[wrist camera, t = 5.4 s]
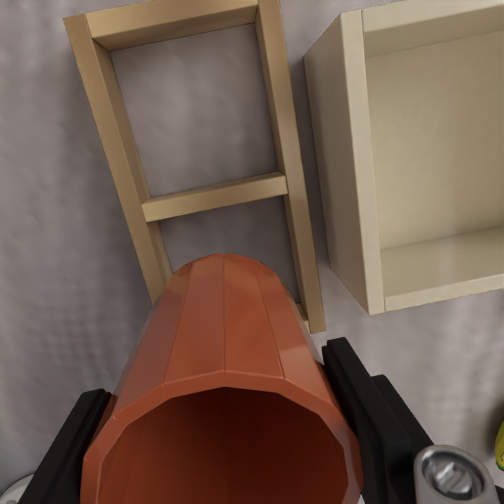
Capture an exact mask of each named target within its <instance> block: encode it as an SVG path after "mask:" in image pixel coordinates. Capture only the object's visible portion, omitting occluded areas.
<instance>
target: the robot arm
mask: <svg viewBox="0 0 504 504" xmlns="http://www.w3.org/2000/svg"><path fill="white" fill-rule="evenodd" d="M322 355H323V361H324V366H325V368H326V370H327V372H328V375H329V377H330V379H331V381H332V383H333V385H334V387H335V390H336V392H337V394H338V396H339V398H340V400H341V403H342V405H343V407H344V409H345V411H346V413H347V415H348V418H349V420H350V422H351V424H352V426H353V428H354V431H355V433H356V435H357V437H358V440H359V441H358V442H359V447H360V455H361V463H362V471H363V479H364V487H363V490H362V492H361V494H362V497H363V499H364V502H365V504H504V489H503V488H501V487H498V486H496V485H494V482H493V479H492V477H491V475H490V473H489V471H488V469H487V468H486V467H485V466H484V465H483V464H482V463H481V461H480V460H478V459H477V458H476V457H474V456H473V455H471V454H470V453H468V452H466V451H464V450H462V449H460V448H457V447H453V446H449V445H434V443H433V442H432V440H431V439H430V438H429V436H428V435H427V433H426V432H425V431H424V429H423V428H422V426H421V425H420V424H419V422H418V421H417V419H416V418H415V417H414V415H413V414H412V412H411V411H410V409H409V408H408V407H407V405H406V404H405V402H404V401H403V400H402V398H401V397H400V395H399V394H398V393H397V391H396V390H395V388H394V387H393V386H392V384H391V383H390V381H389V380H388V379H387V377H386V376H385V375H383V374H382V375H377V376H372V377H370V375H369V373H368V372H367V370H366V369H365V367H364V366H363V364H362V362H361V361H360V359H359V358H358V356H357V355H356V353H355V352H354V350H353V348H352V347H351V345H350V344H349V342H348V341H347V339H346V338H345V337H341V338H337V339H332V340H327V346H322ZM111 396H112V394H111V393H110V392H106V391H105V390H104V389H97V390H92V391H88V392H84V393H82V394H81V395H80V397H79V399H78V401H77V402H76V404H75V406H74V407H73V409H72V411H71V412H70V414H69V416H68V418H67V419H66V421H65V423H64V424H63V426H62V428H61V430H60V431H59V433H58V435H57V436H56V438H55V440H54V441H53V443H52V445H51V447H50V448H49V450H48V452H47V453H46V455H45V457H44V458H43V460H42V462H41V464H40V465H39V467H38V469H37V470H36V472H35V474H32V475H30V476H28V477H26V478H24V479H22V480H19V481H18V482H16V483H15V484H14V485H12V486H11V487H10V488H8V489H7V490H6V491H5V493H4V494H3V495H2V496H1V497H0V504H80V502H79V500H80V488H81V477H82V466H83V458H84V455H85V453H86V451H87V449H88V446H89V444H90V442H91V440H92V438H93V435H94V433H95V431H96V429H97V427H98V425H99V422H100V420H101V418H102V416H103V414H104V411H105V409H106V407H107V405H108V403H109V400H110V398H111Z"/></svg>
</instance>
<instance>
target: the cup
mask: <svg viewBox="0 0 504 504" xmlns="http://www.w3.org/2000/svg"><path fill="white" fill-rule="evenodd" d="M358 441H359V440H358V437H357V435H356V433H355V431H354V428H353V426H352V424H351V422H350V420H349V418H348V415H347V413H346V411H345V409H344V407H343V405H342V403H341V400H340V398H339V396H338V394H337V392H336V390H335V387H334V385H333V383H332V381H331V379H330V377H329V375H328V372H327V370H326V368H325V366H324V364H323V362H322V359H321V357H320V355H319V353H318V351H317V349H316V347H315V345H314V342H313V340H312V338H311V336H310V334H309V332H308V330H307V327H306V325H305V323H304V321H303V319H302V317H301V315H300V312H299V310H298V308H297V306H296V304H295V302H294V300H293V298H292V296H291V295H290V293H289V292H288V290H287V288H286V286H285V285H284V283H283V281H282V280H281V279H280V278H279V276H278V275H277V274H276V273H274V272H273V271H272V270H271V269H270V268H268V267H267V266H266V265H264V264H262V263H261V262H259V261H257V260H255V259H252V258H249V257H246V256H242V255H237V254H214V255H208V256H205V257H201V258H198V259H196V260H193V261H191V262H189V263H188V264H186V265H184V266H183V267H181V268H180V269H179V270H177V271H176V272H175V273H174V274H173V275H172V276H171V277H170V278H169V279H168V281H167V282H166V283H165V285H164V286H163V288H162V290H161V292H160V294H159V296H158V297H157V299H156V300H155V302H154V304H153V306H152V308H151V311H150V313H149V315H148V317H147V319H146V322H145V324H144V326H143V328H142V330H141V333H140V335H139V337H138V339H137V341H136V343H135V346H134V348H133V350H132V352H131V354H130V357H129V359H128V361H127V363H126V365H125V368H124V370H123V372H122V374H121V376H120V379H119V381H118V383H117V385H116V387H115V389H114V392H113V394H112V396H111V398H110V400H109V403H108V405H107V407H106V409H105V411H104V414H103V416H102V418H101V420H100V422H99V425H98V427H97V429H96V431H95V433H94V435H93V438H92V440H91V442H90V444H89V446H88V449H87V451H86V453H85V455H84V458H83V466H82V477H81V488H80V500H79V502H80V504H357V503H358V500H359V498H360V495H361V492H362V490H363V487H364V479H363V471H362V463H361V455H360V447H359V442H358Z"/></svg>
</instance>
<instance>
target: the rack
mask: <svg viewBox="0 0 504 504" xmlns="http://www.w3.org/2000/svg"><path fill="white" fill-rule="evenodd" d="M63 21H64V24H65V28H66V31H67V34H68V37H69V40H70V44H71V47H72V50H73V53H74V56H75V59H76V63H77V66H78V69H79V72H80V75H81V79H82V82H83V85H84V88H85V91H86V94H87V98H88V101H89V104H90V107H91V110H92V114H93V117H94V120H95V123H96V126H97V129H98V133H99V136H100V139H101V142H102V145H103V149H104V152H105V155H106V158H107V161H108V164H109V168H110V171H111V174H112V177H113V180H114V184H115V187H116V190H117V193H118V196H119V200H120V203H121V206H122V209H123V212H124V215H125V219H126V222H127V225H128V228H129V231H130V235H131V238H132V241H133V244H134V247H135V250H136V254H137V257H138V260H139V263H140V266H141V270H142V273H143V276H144V279H145V282H146V285H147V289H148V292H149V295H150V298H151V301H152V305H153V304H154V302H155V300H156V299H157V297H158V296H159V294H160V292H161V290H162V288H163V286H164V285H165V283H166V282H167V281H168V279H169V278H170V277H171V276H172V275H173V274H172V271H171V267H170V264H169V260H168V257H167V253H166V250H165V246H164V243H163V239H162V236H161V232H160V229H159V225H158V222H157V220H161V219H166V218H171V217H175V216H180V215H185V214H190V213H195V212H200V211H205V210H210V209H215V208H220V207H225V206H230V205H235V204H240V203H245V202H249V201H254V200H259V199H264V198H269V197H274V196H279V195H283V198H284V205H285V211H286V217H287V223H288V229H289V235H290V241H291V247H292V253H293V260H294V266H295V272H296V278H297V284H298V290H299V296H300V302H301V304H300V303H296V306H297V308H298V310H299V312H300V315H301V317H302V319H303V321H304V323H305V325H306V327H307V330H308V332H309V334H310V333H311V334H313V333H318V332H323V331H326V325H325V318H324V311H323V304H322V297H321V290H320V283H319V276H318V269H317V262H316V254H315V247H314V240H313V233H312V226H311V219H310V212H309V205H308V198H307V191H306V184H305V177H304V170H303V163H302V156H301V149H300V141H299V134H298V127H297V120H296V113H295V106H294V99H293V92H292V85H291V78H290V71H289V64H288V57H287V50H286V43H285V35H284V28H283V21H282V14H281V7H280V0H151V1H146V2H141V3H136V4H131V5H126V6H121V7H116V8H111V9H106V10H101V11H96V12H91V13H86V14H80V15H75V16H70V17H65V18H63ZM254 21H255V27H256V33H257V40H258V46H259V52H260V58H261V64H262V70H263V76H264V82H265V88H266V95H267V101H268V107H269V113H270V119H271V125H272V131H273V137H274V143H275V150H276V156H277V162H278V168H279V172H274V173H269V174H264V175H259V176H254V177H249V178H244V179H239V180H234V181H229V182H224V183H220V184H215V185H210V186H205V187H200V188H195V189H190V190H185V191H180V192H175V193H170V194H165V195H160V196H155V197H150V194H149V190H148V187H147V183H146V180H145V176H144V173H143V169H142V166H141V162H140V159H139V155H138V152H137V148H136V145H135V141H134V138H133V134H132V131H131V127H130V124H129V120H128V117H127V113H126V110H125V106H124V102H123V99H122V95H121V92H120V88H119V85H118V81H117V78H116V74H115V71H114V67H113V64H112V60H111V57H110V53H109V51H114V50H119V49H124V48H129V47H134V46H139V45H144V44H149V43H154V42H159V41H164V40H169V39H174V38H179V37H184V36H189V35H193V34H198V33H203V32H208V31H213V30H218V29H223V28H228V27H233V26H238V25H243V24H248V23H253V22H254Z"/></svg>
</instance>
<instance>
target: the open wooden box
mask: <svg viewBox="0 0 504 504" xmlns="http://www.w3.org/2000/svg"><path fill="white" fill-rule="evenodd" d="M303 59H304V67H305V75H306V82H307V90H308V98H309V106H310V113H311V121H312V129H313V137H314V145H315V152H316V160H317V168H318V176H319V183H320V191H321V199H322V207H323V214H324V222H325V230H326V238H327V245H328V253H329V261H330V268H331V269H332V270H333V272H334V273H335V274H336V275H337V277H338V278H339V279H340V280H341V282H342V283H343V284H344V285H345V287H346V288H347V289H348V290H349V292H350V293H351V294H352V295H353V297H354V298H355V299H356V300H357V301H358V303H359V304H360V305H361V306H362V308H363V309H364V310H365V311H366V313H367V314H368V315H369V316H371V315H376V314H380V313H384V312H390V311H395V310H400V309H405V308H409V307H414V306H419V305H424V304H429V303H434V302H439V301H444V300H449V299H454V298H459V297H463V296H468V295H473V294H478V293H483V292H488V291H493V290H498V289H503V288H504V0H404V1H399V2H394V3H389V4H384V5H379V6H374V7H369V8H364V9H362V10H354V11H349V12H344V13H341V14H339V16H338V17H337V18H336V19H335V20H334V21H333V22H332V24H331V25H330V26H329V27H328V28H327V29H326V31H325V32H324V33H323V34H322V35H321V36H320V37H319V39H318V40H317V41H316V42H315V43H314V44H313V46H312V47H311V48H310V49H309V50H308V51H307V53H306V54H305V55H304V56H303Z"/></svg>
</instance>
